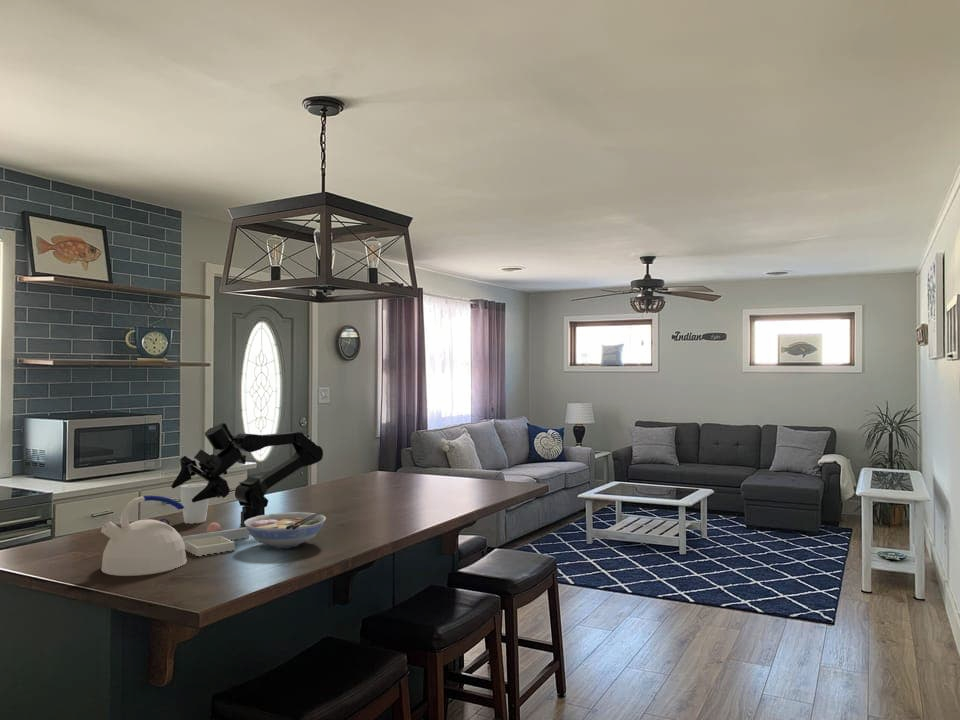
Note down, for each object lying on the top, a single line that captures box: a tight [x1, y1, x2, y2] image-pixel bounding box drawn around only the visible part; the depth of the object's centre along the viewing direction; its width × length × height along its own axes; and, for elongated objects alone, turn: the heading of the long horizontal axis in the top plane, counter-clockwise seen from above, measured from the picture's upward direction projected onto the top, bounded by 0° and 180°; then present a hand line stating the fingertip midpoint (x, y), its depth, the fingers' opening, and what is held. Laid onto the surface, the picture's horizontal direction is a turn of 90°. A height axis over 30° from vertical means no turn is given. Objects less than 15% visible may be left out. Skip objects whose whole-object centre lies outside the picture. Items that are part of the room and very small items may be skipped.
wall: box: [181, 527, 250, 542], centre depth 219 cm, size 20×1×3 cm, turn 130°
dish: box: [184, 536, 236, 557], centre depth 210 cm, size 10×10×2 cm
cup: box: [179, 482, 210, 525], centre depth 249 cm, size 9×9×12 cm
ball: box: [206, 521, 222, 533], centre depth 228 cm, size 4×4×4 cm
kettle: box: [100, 495, 188, 577], centre depth 195 cm, size 20×21×18 cm
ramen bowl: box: [244, 510, 327, 549], centre depth 215 cm, size 25×23×8 cm
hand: (181, 494), depth 225 cm, fingers open, 9 cm apart
